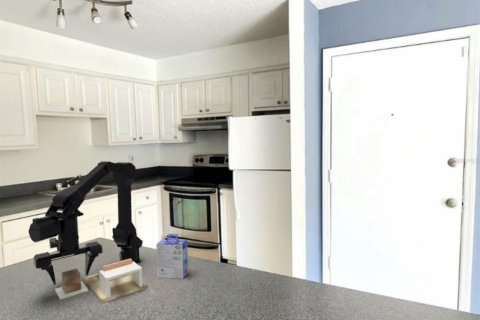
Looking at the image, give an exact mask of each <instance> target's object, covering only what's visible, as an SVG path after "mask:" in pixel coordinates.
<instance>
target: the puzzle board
mask: <svg viewBox="0 0 480 320" xmlns="http://www.w3.org/2000/svg"><path fill="white" fill-rule="evenodd" d="M83 280H84V282H85V283H86V285H87V286H88V287H89V288H90V290H91V291H92V292H93V294H94V295H95V296H96V297H97V299H98V300H99V301H100V302H101V304H105V303H108V302H110V301H113V300H115V299H118V298H121V297H124V296H128V295H131V294H134V293H137V292H140V291H142V290H145V289H147V288H148V284H147V283H146V282H144V281H143V286H141V287H139V286H138V285H137V284H136V283H135V282H134V281H132V280H131V274H128V275H125V276H122V277H118V278H115V279H112V280H110V293H111V297H109V298H107V297H106V296H105V295H104V293H103V292H102V291H101V290H100V277H99V272H98V273H95V274H92V275H88V276H85V277H84V278H83Z"/></svg>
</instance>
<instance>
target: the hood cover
mask: <svg viewBox="0 0 480 320" xmlns="http://www.w3.org/2000/svg"><path fill="white" fill-rule="evenodd" d="M98 273H99V277H100V290H101V291H102V292H103V293H104V295H105V296H106V297H107V298H109V297H111V293H110V280H112V279H115V278H118V277H122V276H125V275H128V274H131V280H132V281H134V282H135V283H136V284H137V285H138V286H139V287H141V286H143V282H144V281H143V267H142V266H141V265H139V264H138V263H135V262H132V259H131V258H130V259H127V260H123V261H120V260H119V261H116V262H112V263H109V264H105V265H102V269H101V270H99V271H98Z"/></svg>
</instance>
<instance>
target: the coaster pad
mask: <svg viewBox="0 0 480 320" xmlns="http://www.w3.org/2000/svg"><path fill="white" fill-rule="evenodd" d="M54 292H55V293H56V295H57V296H58V300H63V299H67V298H69V297H73V296H76V295H80V294H83V293H86V292H89V289H88V287H87V286H86V285H85V283H84V282H83V280H81V290H78V291H74V292H71V293H68V294H65V292H64V291H63V289H62V286H60V287H57V288H54Z"/></svg>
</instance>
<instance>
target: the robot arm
mask: <svg viewBox="0 0 480 320" xmlns="http://www.w3.org/2000/svg"><path fill="white" fill-rule="evenodd" d="M136 169H137V168H136V166H135V165H134V164H133V162H126V161H125V162H121V161H119V162H113V161H108V160H107V161H104V160H103V161H99V162H98V163H97V165H95V167H93V168H92V169H91V170H90V171H89V172H88V173H87V174H86V175H85V176H84V177H82V178H81V179H80V180H79V181H78V182H76V183H75V184H74V185H72V186H70V187H68V188H65V189H63V190H61V191H59V192H58V193H56V194H55V195H54V196H53V197H52V202H51V203H50V205H49V207H48V208H47V210H46V213H45V214H44V216H43V217H35V218H32V223H30V225H29V228H28V235H29V238H30V240H31V241H32V242H33V243H39V242H42V241H45V240H49V241H48V242H49V249H54V248H56V251H57V253H52V254H50V252H49V251H46V252H41V253H37V254H35V255H34V256H33V265H34V267H35V269H37V270H38V269H40V270H41V271H46V272H47V274H48V275H49V277H50V279H51V282H52V283H53V285H54V286H55V285H56V283H57V282H56V275H55V272H54V271H55V270H54V265H53V264H52V262H53V261H58V260H62V259H65V258H70V257H74V256H78V255H83V254H84V256H85V257H84V259H85V260H84V261H85V262H84V265H85V266H84V267H85V268H84V274H85V275H84V276H85V277H88V276H89V273H90V270H91V268H92V265H93V263H94V261H95V260H96V258H98V257H99V256H100V254H102V253H103V245H102V244H101V243H100V242H99V241H97V240H95V241H91V242H87V243H85V245H84V247H80V235H79V224H78V223H79V221H78V218H79V217H82V216H84V215H85V214H84V212H82V211H80V209H79V208H80V207H81V206H82V204H83V203H84V202H85V198H86V196H87V195H88V194H89V192H91V190H93V189H94V188H95V187H96V186H97V185H98V184H99V183H101V182H102V180H103V179H105V178H106V177H107V176H108V175H109V174H112V178H113V179H112V180H114V182H115V184H116V186H117V187H116V188H117V220H118V221H117V224H116V226H115V227H112V230H111V231H112V236H111V238H112V239H113V242H114V243H115V245H116V246H117V248H120V251H119V252H118V253H119V261H123V260H127V259H130V258H131V259H132V262H135V263H136V264H139V263H141V262H142V260H141V259H140V258H141V257H140V248H141V247H143V243H144V241H143V240H142V239H141V238H140V237H138V233H137V228H136V226H135V225H134V223H133V214H132V213H133V211H132V207H133V206H132V184H133V183H134V181H135V179H136V173H137V170H136Z"/></svg>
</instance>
